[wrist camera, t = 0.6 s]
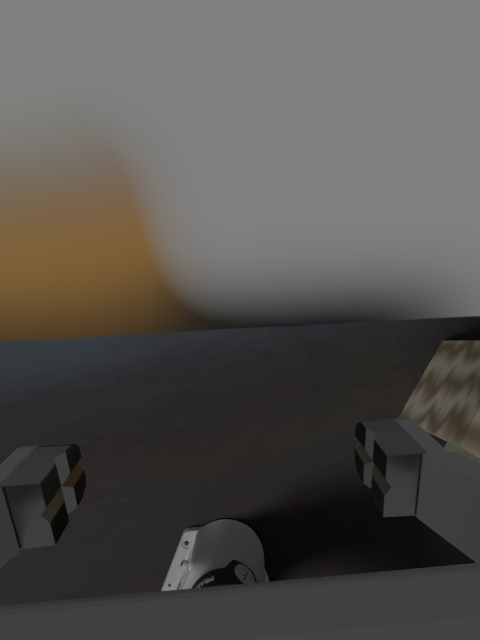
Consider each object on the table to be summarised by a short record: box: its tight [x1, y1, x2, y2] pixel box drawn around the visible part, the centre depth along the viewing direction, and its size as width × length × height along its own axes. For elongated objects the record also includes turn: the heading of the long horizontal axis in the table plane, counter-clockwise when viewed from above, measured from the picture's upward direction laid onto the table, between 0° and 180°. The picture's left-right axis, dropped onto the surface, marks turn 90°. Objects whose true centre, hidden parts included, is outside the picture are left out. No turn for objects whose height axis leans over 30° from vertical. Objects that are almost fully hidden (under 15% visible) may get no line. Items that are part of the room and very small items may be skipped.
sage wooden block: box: [444, 442, 480, 462], centre depth 56 cm, size 4×4×8 cm
